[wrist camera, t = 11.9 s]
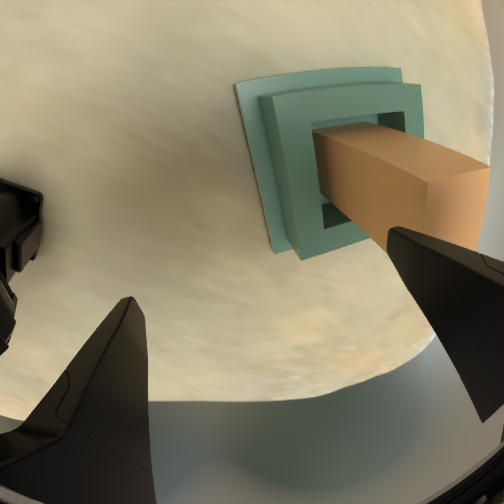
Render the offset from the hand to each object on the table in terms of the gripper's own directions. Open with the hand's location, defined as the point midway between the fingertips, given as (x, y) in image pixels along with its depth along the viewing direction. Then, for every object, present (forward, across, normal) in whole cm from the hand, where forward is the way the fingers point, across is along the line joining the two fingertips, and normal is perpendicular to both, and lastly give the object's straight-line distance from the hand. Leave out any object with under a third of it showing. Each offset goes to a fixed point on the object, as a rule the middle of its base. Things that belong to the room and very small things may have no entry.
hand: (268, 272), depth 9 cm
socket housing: (+13, -9, +1) cm, 16 cm away
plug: (+13, -9, +1) cm, 16 cm away
